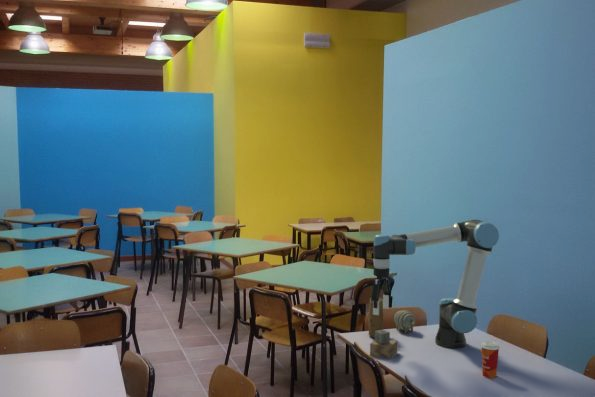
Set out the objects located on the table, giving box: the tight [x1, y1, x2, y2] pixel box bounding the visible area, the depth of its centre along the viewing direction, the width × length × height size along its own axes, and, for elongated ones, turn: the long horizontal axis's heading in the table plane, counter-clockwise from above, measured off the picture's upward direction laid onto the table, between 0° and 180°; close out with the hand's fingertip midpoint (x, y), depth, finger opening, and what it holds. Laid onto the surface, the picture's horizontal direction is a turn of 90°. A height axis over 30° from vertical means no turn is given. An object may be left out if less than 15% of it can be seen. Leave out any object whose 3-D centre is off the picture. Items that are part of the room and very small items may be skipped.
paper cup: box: [480, 341, 500, 379], centre depth 242 cm, size 8×8×14 cm
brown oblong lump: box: [368, 296, 384, 339], centre depth 298 cm, size 11×8×20 cm
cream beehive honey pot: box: [393, 310, 416, 334], centre depth 307 cm, size 11×17×11 cm, turn 32°
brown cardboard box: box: [369, 339, 398, 360], centre depth 269 cm, size 10×10×6 cm
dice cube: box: [374, 329, 391, 344], centre depth 270 cm, size 5×5×5 cm
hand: (380, 311), depth 269 cm, fingers open, 13 cm apart
